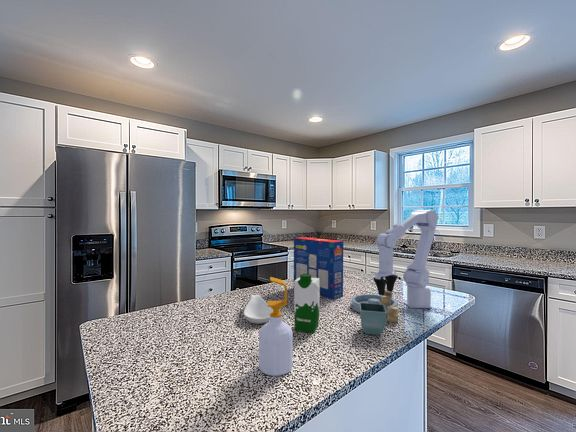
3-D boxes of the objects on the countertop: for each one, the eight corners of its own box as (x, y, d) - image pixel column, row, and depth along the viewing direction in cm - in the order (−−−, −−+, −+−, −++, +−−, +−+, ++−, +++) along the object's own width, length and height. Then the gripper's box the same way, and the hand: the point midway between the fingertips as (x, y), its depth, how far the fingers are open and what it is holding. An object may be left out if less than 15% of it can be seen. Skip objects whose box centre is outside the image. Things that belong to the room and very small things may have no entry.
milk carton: (291, 331, 104) (291, 275, 104) (299, 322, 113) (299, 270, 113) (315, 334, 101) (316, 277, 101) (321, 325, 110) (321, 272, 110)
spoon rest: (276, 326, 110) (276, 307, 110) (245, 329, 107) (245, 309, 107) (265, 306, 133) (265, 290, 133) (239, 308, 130) (239, 291, 130)
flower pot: (386, 338, 99) (387, 312, 99) (359, 336, 101) (360, 310, 100) (383, 328, 107) (384, 304, 107) (359, 326, 109) (359, 302, 109)
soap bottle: (259, 359, 84) (259, 274, 84) (290, 358, 85) (291, 274, 85) (258, 377, 75) (259, 282, 75) (294, 376, 76) (294, 281, 76)
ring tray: (389, 301, 140) (389, 293, 140) (405, 316, 120) (405, 307, 120) (347, 300, 140) (347, 293, 140) (356, 315, 120) (356, 307, 120)
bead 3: (396, 319, 117) (396, 306, 117) (399, 322, 113) (399, 310, 113) (386, 318, 117) (386, 306, 117) (388, 322, 113) (388, 309, 113)
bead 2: (383, 306, 129) (383, 295, 129) (392, 308, 126) (392, 297, 126) (379, 308, 126) (379, 297, 126) (388, 311, 123) (388, 299, 123)
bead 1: (390, 300, 141) (390, 290, 141) (393, 303, 137) (393, 292, 137) (382, 300, 141) (382, 290, 141) (384, 303, 137) (384, 292, 137)
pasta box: (343, 296, 147) (343, 241, 147) (332, 299, 142) (333, 242, 141) (303, 285, 168) (304, 237, 168) (293, 288, 163) (293, 237, 162)
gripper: (386, 265, 118) (386, 298, 118) (402, 260, 128) (402, 291, 128) (370, 262, 123) (370, 295, 123) (387, 258, 133) (387, 288, 133)
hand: (385, 293), depth 126 cm, fingers open, 7 cm apart
